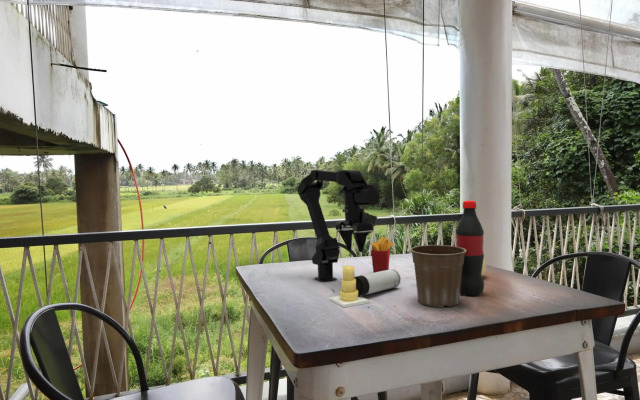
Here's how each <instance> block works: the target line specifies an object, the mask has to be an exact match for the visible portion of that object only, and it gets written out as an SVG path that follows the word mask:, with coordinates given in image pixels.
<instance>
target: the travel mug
mask: <svg viewBox="0 0 640 400" xmlns="http://www.w3.org/2000/svg"><path fill="white" fill-rule="evenodd" d="M355 279H356V290H358V296H361V297H363V296H366V295H371V294H374V293H378V292H383V291H386V290H390V289H393V288H394V289H395V288H397V287H399V285H400V284H401V275H400V273H399V271H397V270H396V269H391V268H389V270H385V271H380V272H375V273H373V272H371V273H370V272H369V273H366V274H365V273H364V274H360V275H357V276H355Z"/></svg>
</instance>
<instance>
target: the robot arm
mask: <svg viewBox="0 0 640 400" xmlns="http://www.w3.org/2000/svg"><path fill="white" fill-rule="evenodd" d="M324 182H334V183H336V184H338V185H339V186H342V188H341V189H340V190H339V194H343V204H344V205H343V206H344V208H343V209H342V213H344V220H342V221H341V220H340V221H337V222H336V224H335V230H337V232H338V233H339V236H340V238H341V239H342V241H343V243H344V244H345V246H346V248H347V250H348V251H349V250H350V251H351V250H352V245H353V238H354V241H355V244H356V246H357V249H358V252H359V253H363V252H364V248H365V244H366V240H367V237H368V236H369V235H370V234H371V233H372V232H373V231H374V230H375V228H374V226H376V224H377V220H378V216H376V215H374V214H370V213H369V212H366V211H365V209H364V208H362V206H375V205H377V204H378V202H379V199H380V194H379V192H378V190H377V189H376V188H375V186H374V184H368V183H367V181H366V180H365V178H364V176H363V175H362V173H361V171H360V170H358V169H343V170H338V171H334V170H323V169H313V170H311V171H310V173H309V174H308V175H306V176H305V177H304V178H302V180H301V181H300V183H299V184H298V186H297V190H296V191H297V194H298V196H299V198H300V200H301V201H302V203H304V204H305V205H306V207H307V210H308V213H309V217H310V220H311V224H312V228H313V230H314V233H315V236H316V244H315V253H314V254H313V256H312V257H311V263H312V264H313V265H316V266H317V276H315V277H314V279H315V280H316V281H317V280H318V281H320V282H321V283H322V282H331V281H336V280H337V278H336V277H335V276H334V268H333V265H334V264H335V263H336V264H337V263H338V262H339V258H340V257H339V256H340V250H341V249H340V248H341V247H340V246H339V243H338V242H339V241H338V239H337V238H336V237H332V236H331V235H330V232H329V229H328V226H327V223H326V219H325V217H324V213H323V210H322V207H321V203H320V198H321V190H322V188H323V187H324Z"/></svg>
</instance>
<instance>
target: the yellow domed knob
mask: <svg viewBox="0 0 640 400" xmlns="http://www.w3.org/2000/svg"><path fill="white" fill-rule="evenodd" d="M355 277H356V276H355V266H354V265H342V278H341V289H340V290H339V296H340V300H342V301H356V300H358V290H356V279H355Z"/></svg>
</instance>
